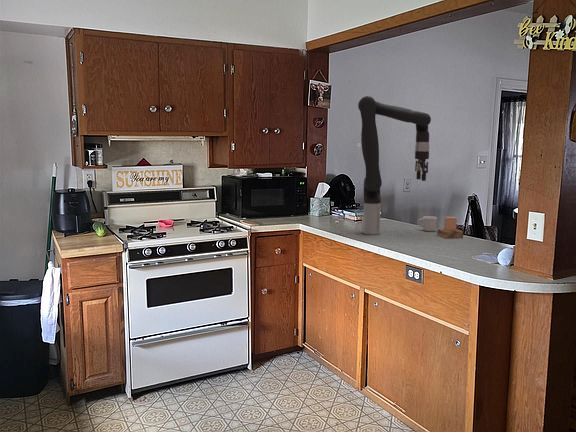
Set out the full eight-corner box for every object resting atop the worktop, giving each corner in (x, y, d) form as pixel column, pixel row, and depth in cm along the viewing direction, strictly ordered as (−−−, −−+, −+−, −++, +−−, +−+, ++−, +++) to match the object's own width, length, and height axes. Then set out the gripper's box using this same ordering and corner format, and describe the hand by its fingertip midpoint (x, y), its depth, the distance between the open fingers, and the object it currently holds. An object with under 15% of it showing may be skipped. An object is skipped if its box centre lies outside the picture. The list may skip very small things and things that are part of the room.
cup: (415, 230, 310) (416, 217, 309) (419, 228, 317) (419, 215, 316) (434, 232, 305) (435, 218, 304) (437, 230, 312) (438, 216, 311)
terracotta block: (446, 230, 290) (447, 217, 289) (444, 229, 295) (444, 216, 294) (456, 230, 290) (456, 217, 289) (453, 229, 294) (453, 216, 294)
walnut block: (445, 239, 287) (445, 232, 286) (437, 236, 297) (437, 228, 296) (462, 238, 289) (463, 231, 288) (453, 235, 299) (454, 228, 298)
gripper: (411, 150, 300) (410, 179, 303) (419, 150, 286) (418, 181, 289) (424, 150, 301) (423, 179, 303) (433, 150, 287) (432, 181, 289)
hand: (421, 180), depth 296 cm, fingers open, 8 cm apart
